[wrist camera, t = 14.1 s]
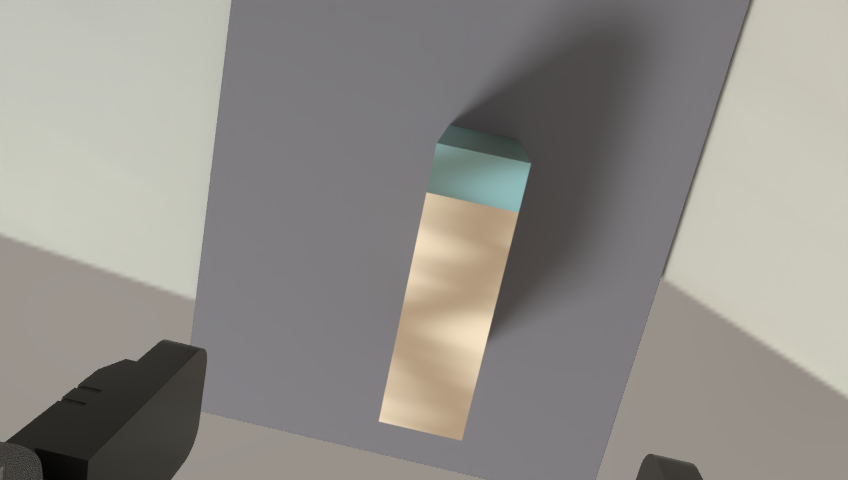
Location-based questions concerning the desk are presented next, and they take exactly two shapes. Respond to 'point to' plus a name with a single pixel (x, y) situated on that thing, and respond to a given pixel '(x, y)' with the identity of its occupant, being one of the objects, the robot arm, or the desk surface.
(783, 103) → the desk surface
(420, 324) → the tile
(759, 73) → the desk surface
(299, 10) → the mat
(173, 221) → the desk surface
